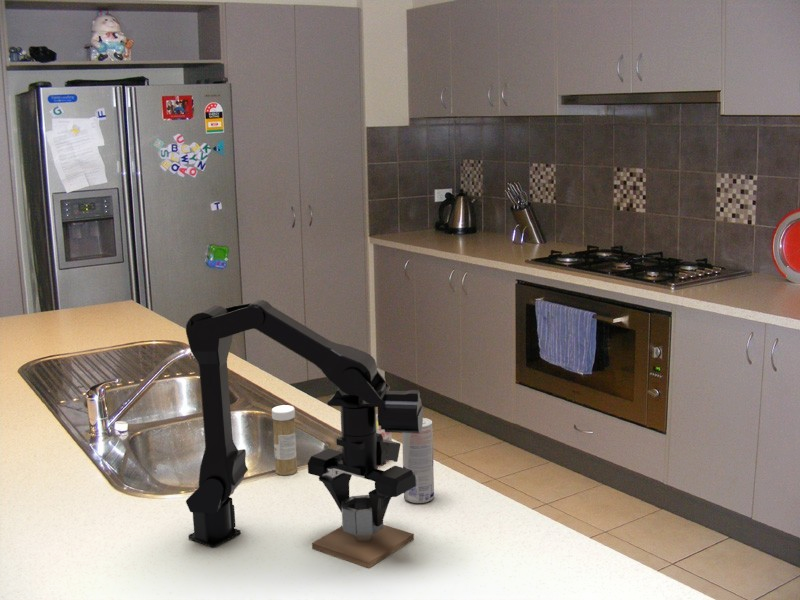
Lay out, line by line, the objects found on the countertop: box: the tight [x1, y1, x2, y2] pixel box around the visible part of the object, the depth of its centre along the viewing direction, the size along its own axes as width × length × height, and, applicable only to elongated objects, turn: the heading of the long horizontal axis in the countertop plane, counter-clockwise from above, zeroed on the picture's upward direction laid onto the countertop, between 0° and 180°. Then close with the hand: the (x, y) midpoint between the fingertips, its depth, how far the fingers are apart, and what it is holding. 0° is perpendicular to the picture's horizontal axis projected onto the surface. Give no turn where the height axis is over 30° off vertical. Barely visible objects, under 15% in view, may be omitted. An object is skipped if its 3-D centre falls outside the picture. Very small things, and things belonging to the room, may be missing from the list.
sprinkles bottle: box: [271, 404, 298, 476], centre depth 183 cm, size 5×5×13 cm
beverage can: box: [401, 417, 435, 504], centre depth 168 cm, size 6×6×15 cm
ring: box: [341, 494, 384, 535], centre depth 151 cm, size 7×7×4 cm
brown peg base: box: [311, 524, 415, 569], centre depth 152 cm, size 12×12×5 cm
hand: (362, 520), depth 151 cm, fingers closed on ring, 7 cm apart
